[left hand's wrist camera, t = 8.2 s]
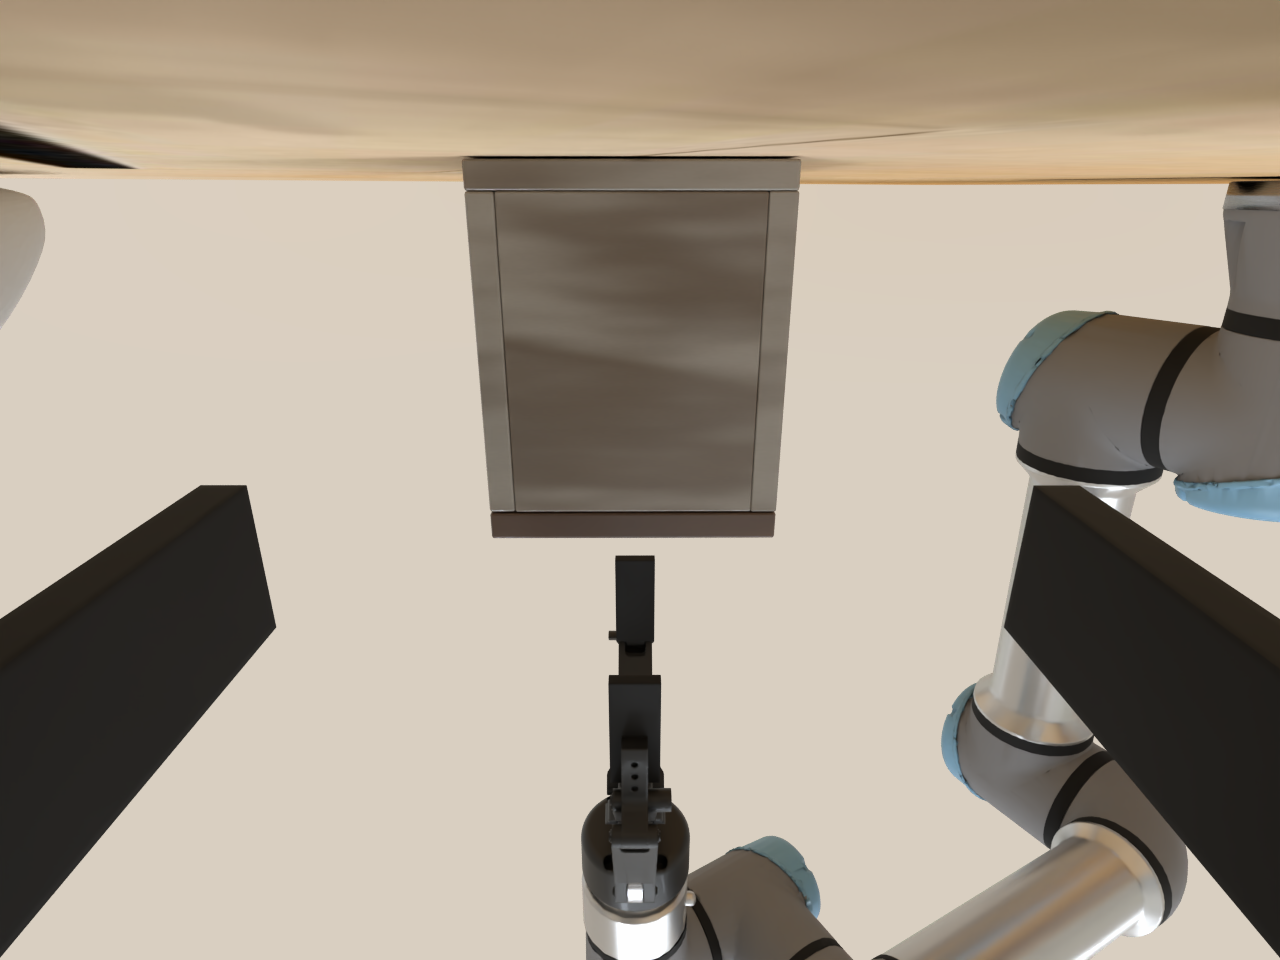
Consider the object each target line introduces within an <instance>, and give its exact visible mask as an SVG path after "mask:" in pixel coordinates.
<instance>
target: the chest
mask: <svg viewBox="0 0 1280 960" xmlns="http://www.w3.org/2000/svg"><path fill="white" fill-rule="evenodd" d="M462 168H463V181H464V189H465V190H466V192H465V205H466V218H467V230H468V242H469V254H470V267H471V280H472V292H473V304H474V316H475V329H476V341H477V354H478V366H479V378H480V391H481V403H482V415H483V428H484V440H485V452H486V464H487V477H488V490H489V502H490V510H491V511H515V510H516V511H517V512H536V511H750V510H751V511H775V510H776V501H777V487H778V473H779V460H780V447H781V433H782V419H783V406H784V392H785V378H786V365H787V352H788V338H789V324H790V311H791V297H792V284H793V270H794V257H795V243H796V230H797V216H798V202H799V192H798V191H797V190H799V185H800V172H801V160H800V159H463V160H462Z"/></svg>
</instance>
